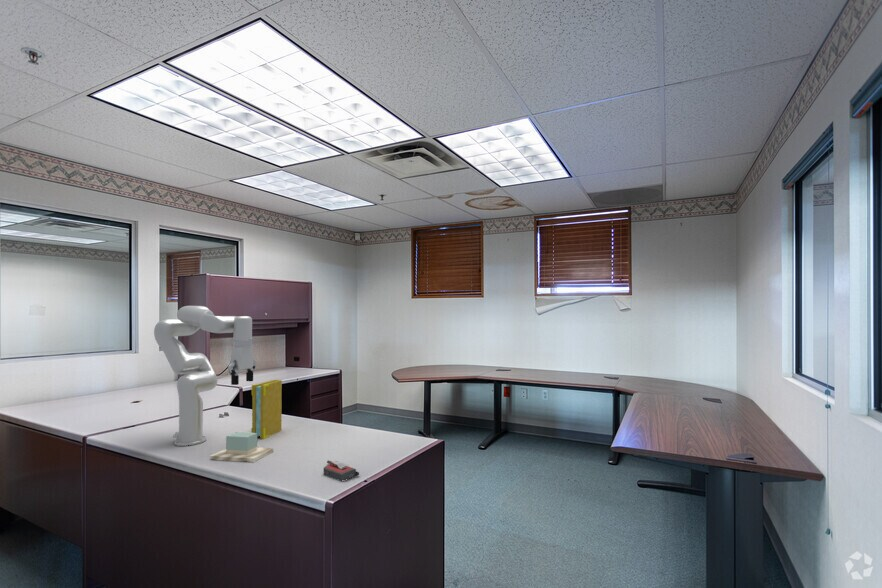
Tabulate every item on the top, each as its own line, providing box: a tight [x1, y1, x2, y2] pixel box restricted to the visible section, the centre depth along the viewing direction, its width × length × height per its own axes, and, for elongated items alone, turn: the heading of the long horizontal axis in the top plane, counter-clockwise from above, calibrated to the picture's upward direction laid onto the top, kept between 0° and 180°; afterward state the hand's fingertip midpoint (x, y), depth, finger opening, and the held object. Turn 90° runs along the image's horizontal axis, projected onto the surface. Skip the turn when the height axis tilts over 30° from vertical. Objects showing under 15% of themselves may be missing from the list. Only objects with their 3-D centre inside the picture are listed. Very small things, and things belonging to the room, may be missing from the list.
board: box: [209, 446, 274, 463], centre depth 172 cm, size 20×13×2 cm, turn 78°
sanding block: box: [225, 431, 258, 455], centre depth 172 cm, size 10×6×7 cm, turn 78°
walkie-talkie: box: [323, 459, 360, 482], centre depth 151 cm, size 9×4×20 cm
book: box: [250, 379, 283, 440], centre depth 205 cm, size 17×7×25 cm, turn 168°
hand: (242, 382), depth 184 cm, fingers open, 9 cm apart
